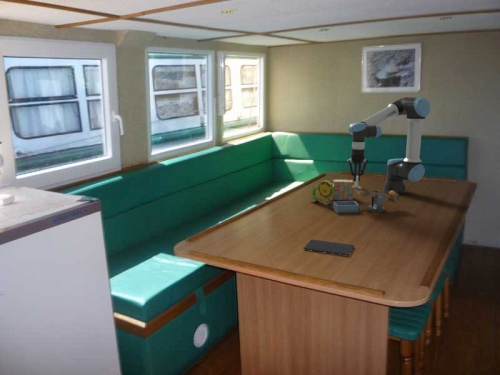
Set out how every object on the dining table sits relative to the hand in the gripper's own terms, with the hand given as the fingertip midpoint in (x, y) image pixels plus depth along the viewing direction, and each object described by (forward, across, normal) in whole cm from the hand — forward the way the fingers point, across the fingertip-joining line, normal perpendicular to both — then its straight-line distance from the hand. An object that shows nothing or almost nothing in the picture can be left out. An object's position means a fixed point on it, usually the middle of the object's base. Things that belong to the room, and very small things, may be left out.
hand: (356, 186), depth 282 cm
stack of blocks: (+13, +8, -18) cm, 23 cm away
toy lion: (+13, +19, -7) cm, 24 cm away
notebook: (+14, +33, +72) cm, 80 cm away
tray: (+12, +9, +11) cm, 19 cm away
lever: (+6, -9, +6) cm, 12 cm away
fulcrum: (+12, -10, +11) cm, 19 cm away
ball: (+2, -19, +11) cm, 22 cm away
